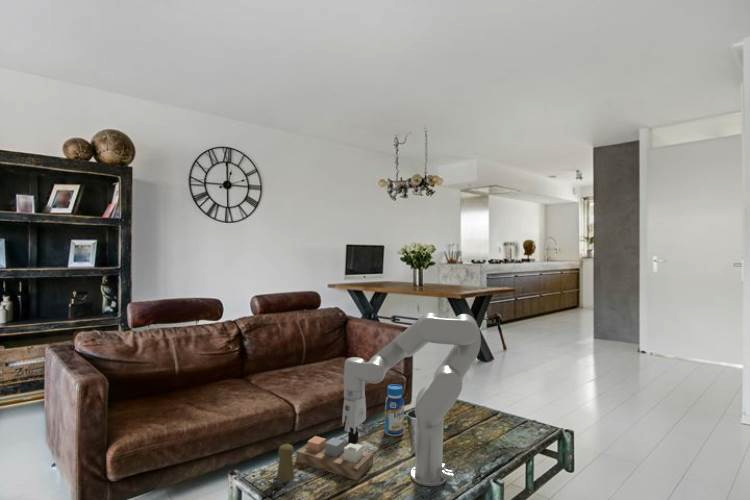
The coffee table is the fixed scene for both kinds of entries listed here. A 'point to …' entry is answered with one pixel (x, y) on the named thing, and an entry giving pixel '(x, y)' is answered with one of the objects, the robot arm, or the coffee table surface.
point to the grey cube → (334, 447)
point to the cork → (285, 463)
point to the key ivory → (353, 453)
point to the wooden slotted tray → (334, 462)
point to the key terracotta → (316, 444)
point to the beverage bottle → (394, 410)
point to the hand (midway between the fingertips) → (353, 442)
